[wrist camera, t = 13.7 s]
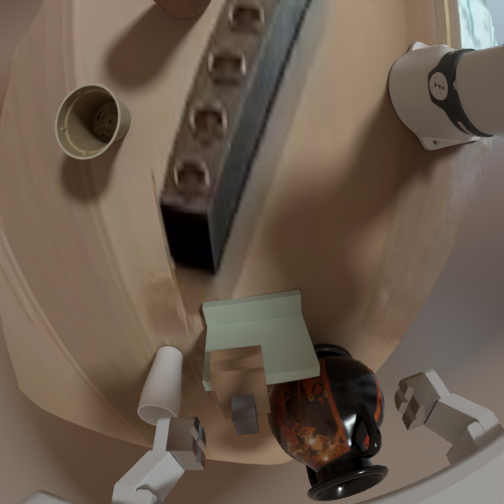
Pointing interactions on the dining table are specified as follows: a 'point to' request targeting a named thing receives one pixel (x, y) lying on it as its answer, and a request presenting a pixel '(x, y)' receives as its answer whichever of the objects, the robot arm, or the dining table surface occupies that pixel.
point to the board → (263, 334)
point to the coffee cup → (183, 7)
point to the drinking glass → (162, 387)
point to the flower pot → (90, 121)
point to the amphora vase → (332, 424)
